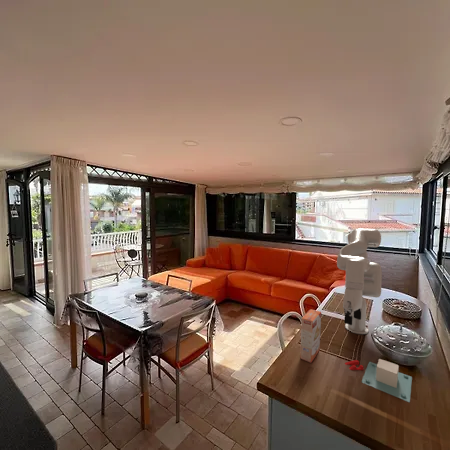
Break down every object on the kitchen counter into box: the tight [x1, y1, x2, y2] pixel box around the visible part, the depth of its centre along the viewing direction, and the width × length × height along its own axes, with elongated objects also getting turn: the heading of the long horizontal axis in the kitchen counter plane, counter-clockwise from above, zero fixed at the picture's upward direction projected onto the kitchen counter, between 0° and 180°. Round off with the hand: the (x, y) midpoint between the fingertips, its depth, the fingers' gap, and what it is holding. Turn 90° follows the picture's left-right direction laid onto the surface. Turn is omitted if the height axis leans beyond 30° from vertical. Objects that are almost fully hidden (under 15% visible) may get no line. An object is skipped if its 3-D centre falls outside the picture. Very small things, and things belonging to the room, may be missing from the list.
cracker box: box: [299, 309, 322, 363], centre depth 119 cm, size 14×6×21 cm, turn 142°
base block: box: [376, 358, 400, 388], centre depth 100 cm, size 7×7×6 cm
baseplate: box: [361, 361, 413, 403], centre depth 100 cm, size 18×16×2 cm
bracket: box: [344, 359, 364, 371], centre depth 108 cm, size 6×5×3 cm
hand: (352, 321), depth 110 cm, fingers open, 9 cm apart
